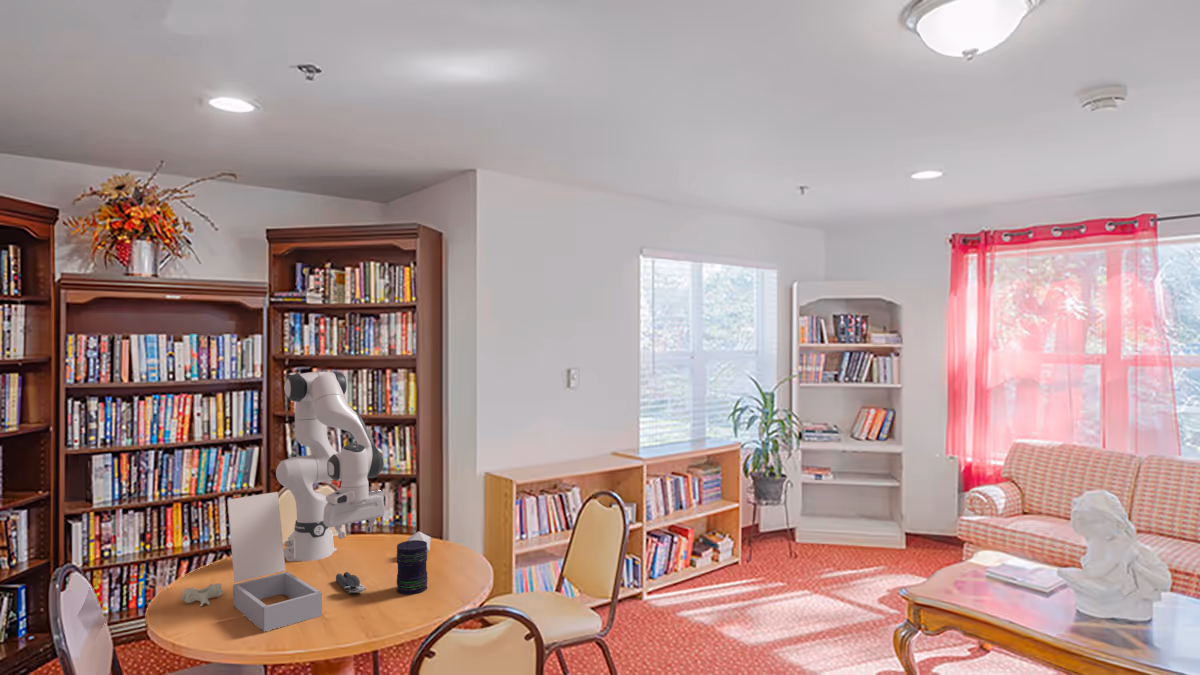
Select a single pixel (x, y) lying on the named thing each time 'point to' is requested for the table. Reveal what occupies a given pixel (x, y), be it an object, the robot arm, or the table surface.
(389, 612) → the table surface
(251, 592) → the duct
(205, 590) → the spine bone
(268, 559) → the lid
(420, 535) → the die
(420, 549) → the dark blue barrel
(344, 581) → the can opener
